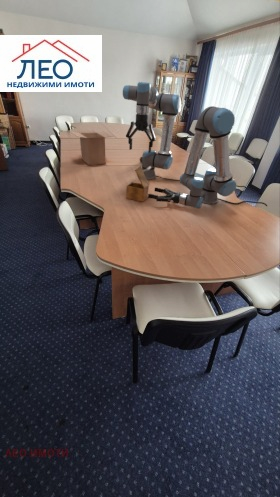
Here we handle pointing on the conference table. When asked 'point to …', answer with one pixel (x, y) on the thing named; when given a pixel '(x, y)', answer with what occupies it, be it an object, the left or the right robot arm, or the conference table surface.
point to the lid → (142, 176)
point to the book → (198, 176)
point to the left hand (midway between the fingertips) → (140, 150)
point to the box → (92, 146)
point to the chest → (137, 192)
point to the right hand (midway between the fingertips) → (151, 192)
